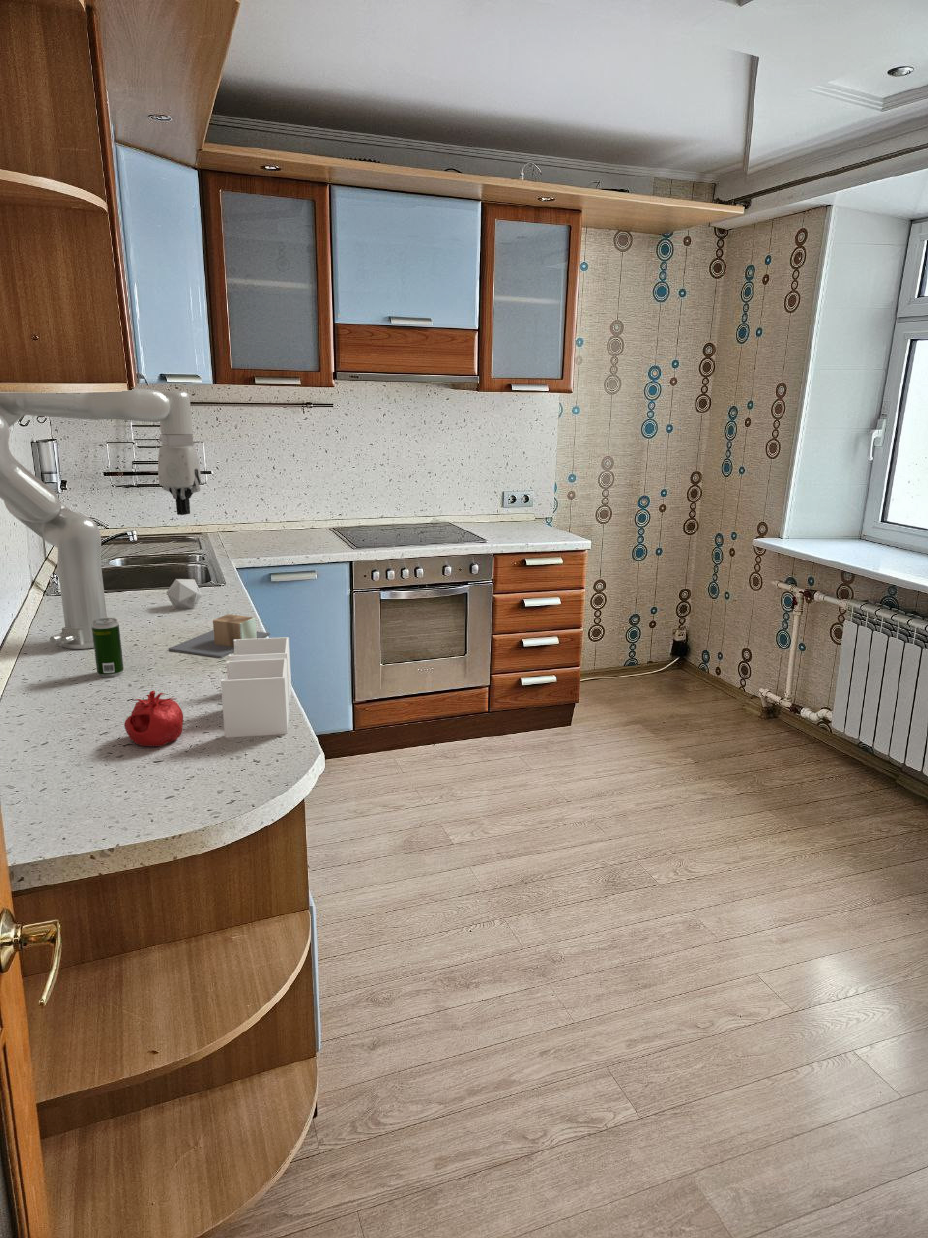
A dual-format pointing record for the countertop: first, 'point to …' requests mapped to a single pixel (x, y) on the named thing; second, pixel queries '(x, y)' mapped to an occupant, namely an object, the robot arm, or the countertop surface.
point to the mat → (207, 645)
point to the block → (233, 629)
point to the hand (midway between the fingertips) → (183, 514)
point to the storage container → (257, 688)
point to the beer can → (107, 647)
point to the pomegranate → (154, 721)
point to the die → (184, 594)
